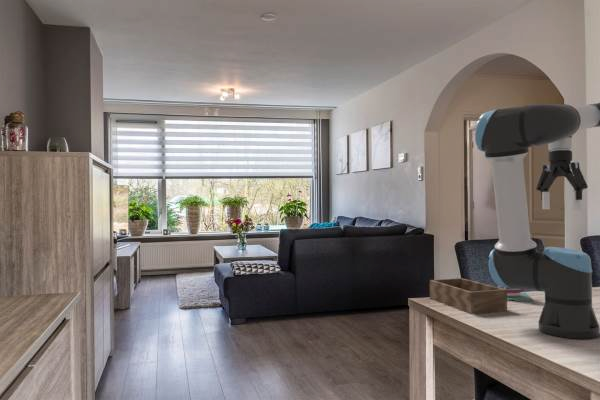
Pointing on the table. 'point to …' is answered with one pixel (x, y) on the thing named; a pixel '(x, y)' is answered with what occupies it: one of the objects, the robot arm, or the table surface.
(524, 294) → the mat
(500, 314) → the table surface
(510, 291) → the pill bottle
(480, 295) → the crate
